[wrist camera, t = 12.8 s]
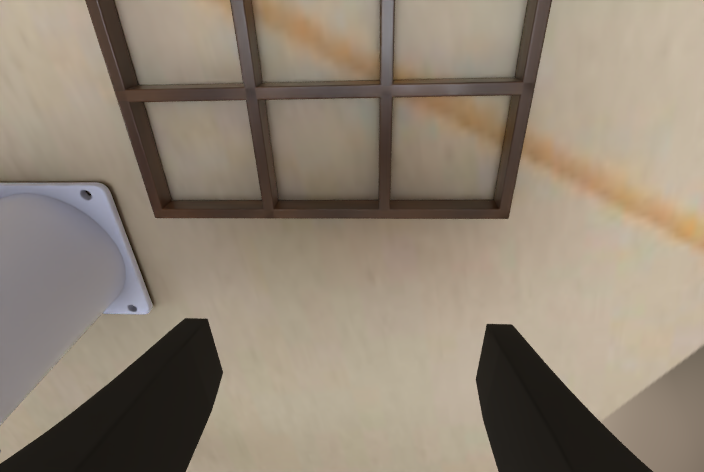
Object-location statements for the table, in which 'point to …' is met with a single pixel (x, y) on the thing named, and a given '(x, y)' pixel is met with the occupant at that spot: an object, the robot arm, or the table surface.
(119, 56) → the frame
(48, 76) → the table surface
